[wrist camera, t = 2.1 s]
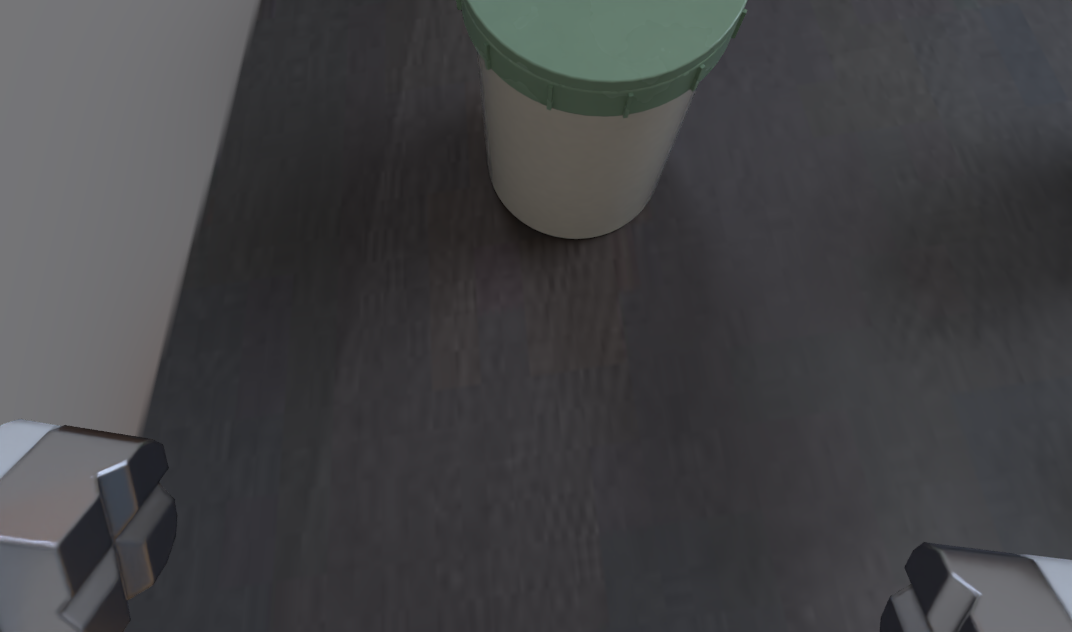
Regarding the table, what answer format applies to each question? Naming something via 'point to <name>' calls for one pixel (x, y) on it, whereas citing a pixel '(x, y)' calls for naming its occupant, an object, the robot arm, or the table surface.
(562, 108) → the lid
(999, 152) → the table surface
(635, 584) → the table surface
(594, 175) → the jar
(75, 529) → the robot arm
